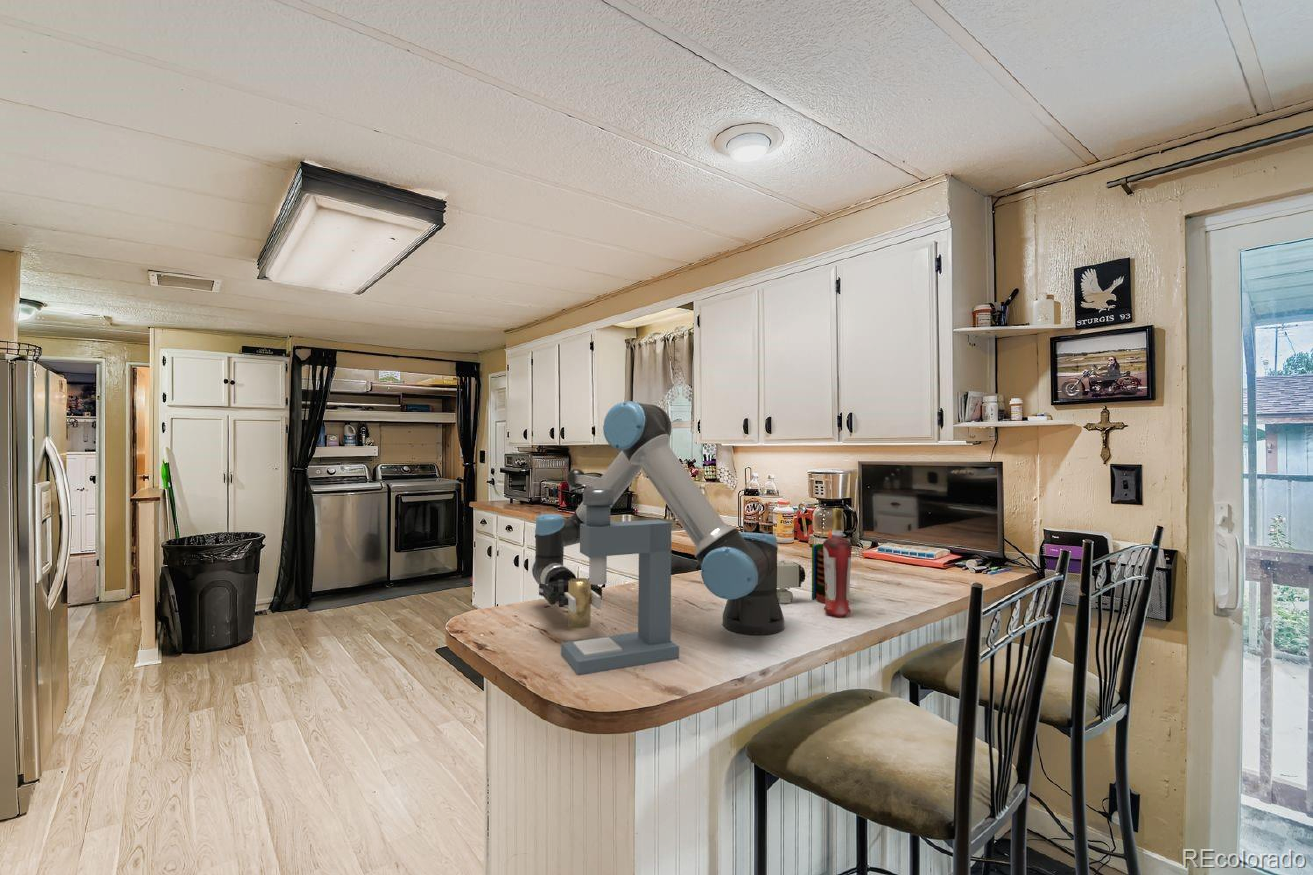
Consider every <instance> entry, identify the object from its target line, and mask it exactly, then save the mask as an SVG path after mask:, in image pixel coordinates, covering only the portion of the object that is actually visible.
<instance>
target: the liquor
mask: <svg viewBox="0 0 1313 875" xmlns="http://www.w3.org/2000/svg"><path fill="white" fill-rule="evenodd" d="M831 513H832V514H831V516H832V528H831V531H832V538H830V539H828V538H827V539H826V540H824V541H823V542H822V544H823V552H824V573H825V604H824V607H823V610H824V611H825V612H826V613H827V614H828V616H831V617H834V618H844V617H846V616H848V614H850V613H851V610H852V609H851V608H850V588H851V587H850V586H851V585H850V583H851V569H852V553H853V552H852V546H853V543H852V542H850V540H848V539H846V538H844V531H843V516H844V514H843V513H844V509H843V508H832V512H831Z"/></svg>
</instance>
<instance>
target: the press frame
mask: <svg viewBox="0 0 1313 875" xmlns="http://www.w3.org/2000/svg"><path fill="white" fill-rule="evenodd" d="M579 553H580V554H582V555H583V556H586V557H587V558H588V560H589V561H588V563H589V564H588V565H589V567H588V568H589V569H588V575H589V576H588V579H589V583H590V584H593V585H598V586H599V585H605V584H607V581H608V580H607V578H608V577H607V576H608V575H607V568H608V566H607V565H608V564H607V560H608V559H607V557H611V556H612V557H613V556H624V555H638V604H637V605H638V612H637V613H638V614H637V616H638V617H637V620H638V622H637V624H638V625H637V627H638V628H637V630H638V631H635V632H628V633H620V634H614V635H608V636H607V635H606V636H600V637H592V638H585V639H584V638H583V639H579V640H571V641H565V642H561V644H560V646H561V647H560V649H561V650H560V655H561V656H562V658H563V659H564V660H565V661H566V663H568V665H569V666H570V667H571V669H572V670H573V671H574V672H575V674H576V675H578V676H581V675H586V674H591V673H598V672H604V671H610V670H617V669H623V668H627V667H629V668H630V667H635V666H639V665H646V664H653V663H658V662H666V661H670V660H676V659H680V646H679V645H678V644H676V643H675V642H674V641H673V640H672V638H671V635H672V633H671V632H672V631H671V630H672V629H671V628H672V625H671V624H672V623H671V622H672V621H671V619H672V616H671V615H672V614H671V613H672V522H669V521H665V520H663V519H646V520H628V521H611V508H610V505H608V506H588V505H587V506H586V524H580V543H579Z"/></svg>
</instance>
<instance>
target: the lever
mask: <svg viewBox="0 0 1313 875" xmlns="http://www.w3.org/2000/svg"><path fill="white" fill-rule="evenodd" d="M566 482H567V484H568V486H569V487H571V488H576V489H577V488H581V487H582V486H589V487H592V488H593V487H603V478H601V477H597V476H591V475H586V474H585V473H584V471H583V470H582V469H579V468H573V469H571V470H570V471H569V472H568V473H567V475H566ZM592 488H584V489H582V501H583V505H588V506H608V505H613V506H614V504H615V503H614V490H613V489H592Z"/></svg>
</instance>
